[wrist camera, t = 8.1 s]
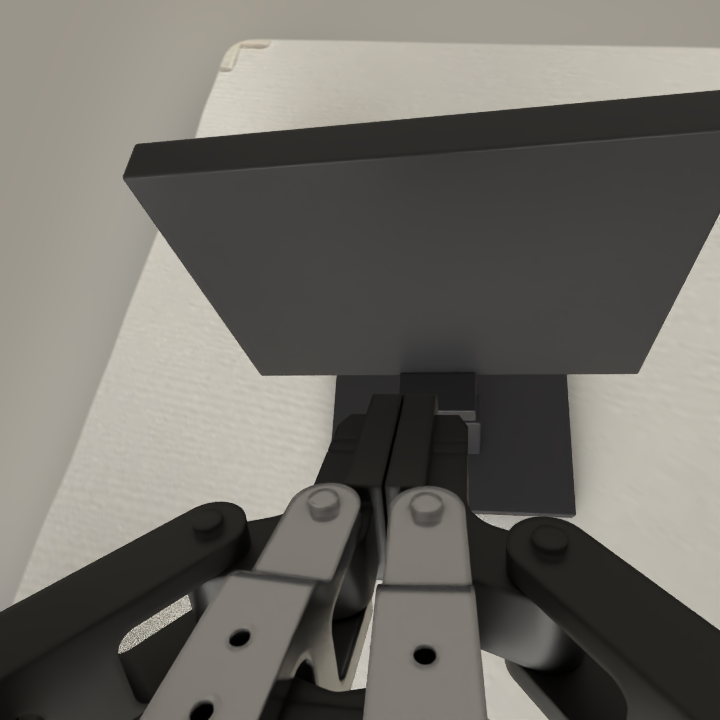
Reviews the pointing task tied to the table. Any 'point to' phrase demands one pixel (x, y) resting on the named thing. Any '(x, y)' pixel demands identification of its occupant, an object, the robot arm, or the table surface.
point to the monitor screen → (446, 238)
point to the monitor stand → (500, 440)
